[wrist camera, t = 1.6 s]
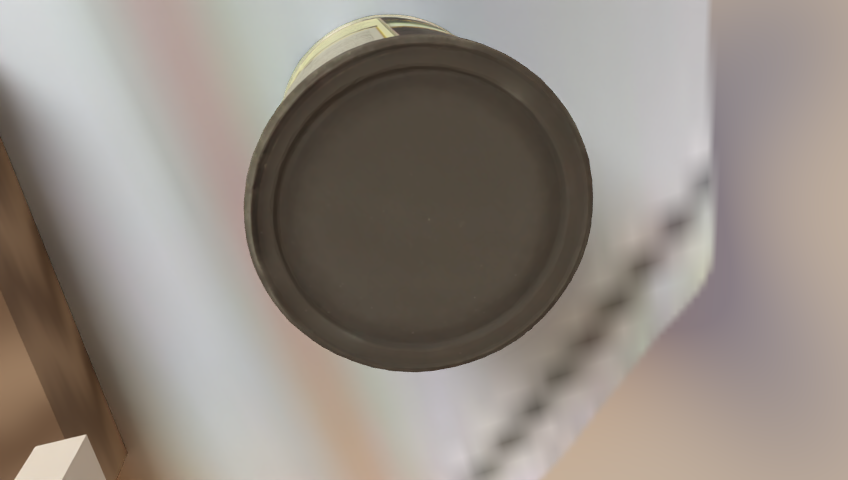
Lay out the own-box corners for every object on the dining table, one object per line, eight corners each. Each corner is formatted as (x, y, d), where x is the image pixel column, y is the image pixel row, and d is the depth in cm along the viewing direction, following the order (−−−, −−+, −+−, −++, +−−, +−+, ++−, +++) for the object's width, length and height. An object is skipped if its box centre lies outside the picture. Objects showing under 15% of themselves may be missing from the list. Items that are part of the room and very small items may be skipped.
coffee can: (490, -1, 34) (592, 16, 20) (503, 216, 37) (597, 349, 24) (260, 24, 33) (210, 57, 20) (296, 242, 36) (274, 395, 23)
